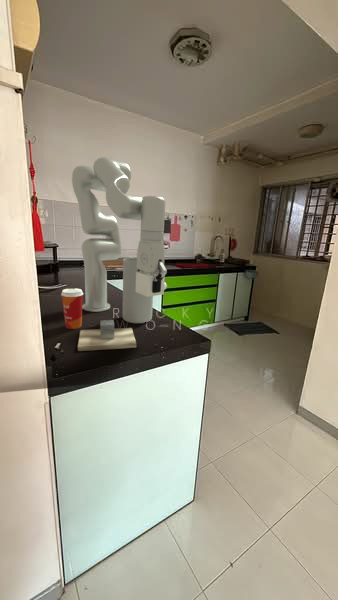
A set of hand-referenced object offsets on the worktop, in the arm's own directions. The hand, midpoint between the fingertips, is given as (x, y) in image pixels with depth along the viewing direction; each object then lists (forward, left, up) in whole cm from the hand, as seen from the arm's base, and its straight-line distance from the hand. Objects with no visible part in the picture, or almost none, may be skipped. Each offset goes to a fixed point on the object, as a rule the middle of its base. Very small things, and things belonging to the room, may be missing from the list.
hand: (149, 289), depth 88 cm
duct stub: (+3, -14, -16) cm, 21 cm away
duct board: (+3, -14, -17) cm, 23 cm away
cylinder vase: (-17, -1, -17) cm, 25 cm away
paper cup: (-11, -26, -17) cm, 34 cm away
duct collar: (-1, +1, -1) cm, 2 cm away
